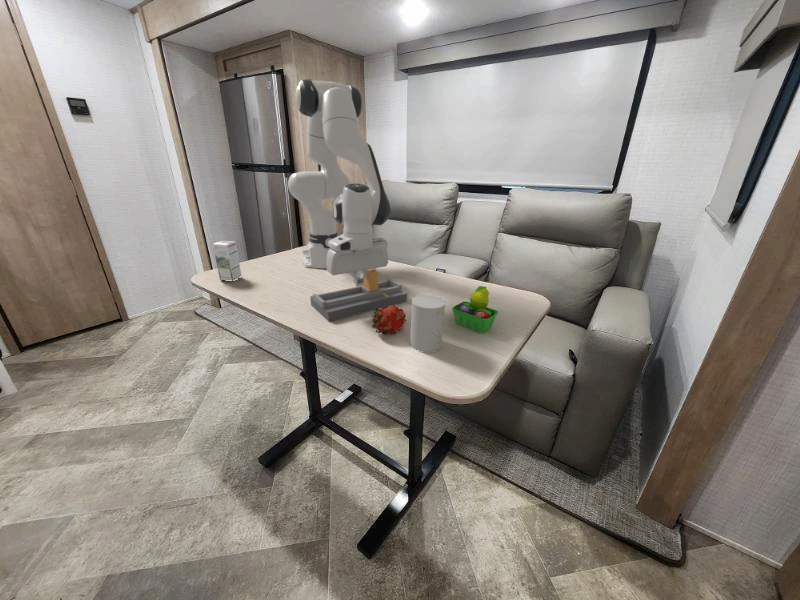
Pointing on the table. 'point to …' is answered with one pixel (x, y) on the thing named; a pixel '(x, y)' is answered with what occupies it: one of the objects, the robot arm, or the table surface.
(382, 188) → the robot arm
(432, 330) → the cup
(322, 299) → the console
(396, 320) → the dragon fruit
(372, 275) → the fader
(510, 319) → the table surface
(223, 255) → the syrup box
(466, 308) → the fruit basket
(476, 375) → the table surface
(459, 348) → the table surface
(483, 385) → the table surface
